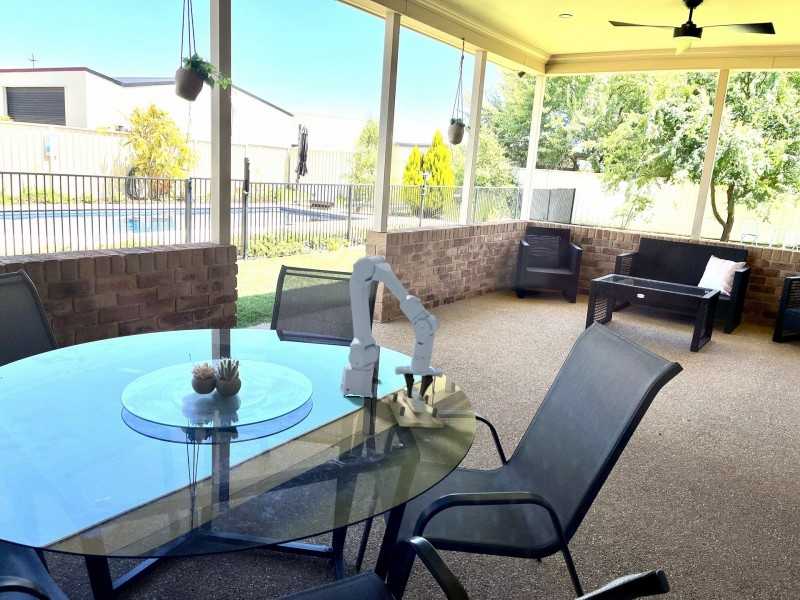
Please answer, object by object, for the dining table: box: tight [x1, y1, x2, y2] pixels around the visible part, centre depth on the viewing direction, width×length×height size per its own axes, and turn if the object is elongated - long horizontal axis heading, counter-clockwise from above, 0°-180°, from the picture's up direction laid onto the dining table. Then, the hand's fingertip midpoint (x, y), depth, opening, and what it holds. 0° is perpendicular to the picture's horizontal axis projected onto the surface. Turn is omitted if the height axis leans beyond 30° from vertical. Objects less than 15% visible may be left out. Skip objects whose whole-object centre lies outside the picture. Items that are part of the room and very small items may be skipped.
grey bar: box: [401, 385, 426, 412], centre depth 178 cm, size 5×14×4 cm, turn 13°
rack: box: [386, 392, 445, 429], centre depth 176 cm, size 13×20×4 cm, turn 13°
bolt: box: [372, 365, 378, 379], centre depth 206 cm, size 6×5×15 cm
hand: (414, 397), depth 177 cm, fingers closed on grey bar, 3 cm apart
